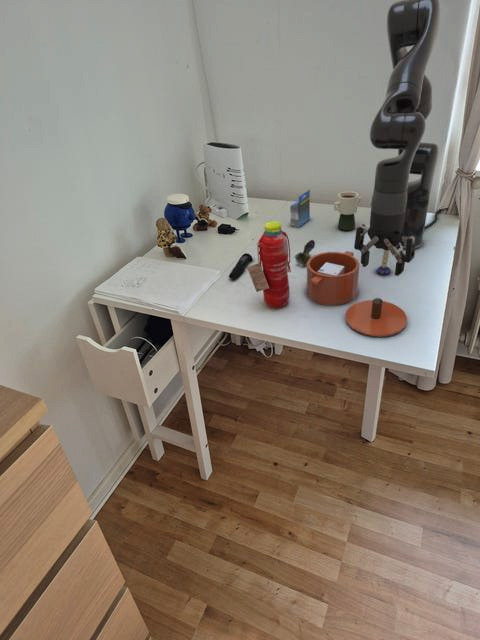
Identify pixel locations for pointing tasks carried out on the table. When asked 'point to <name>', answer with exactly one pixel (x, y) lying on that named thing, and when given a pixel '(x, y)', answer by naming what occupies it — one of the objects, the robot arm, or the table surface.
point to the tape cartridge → (300, 210)
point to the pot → (332, 279)
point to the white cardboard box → (332, 269)
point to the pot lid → (376, 317)
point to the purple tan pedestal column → (384, 265)
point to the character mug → (347, 209)
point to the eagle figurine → (306, 252)
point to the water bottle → (272, 266)
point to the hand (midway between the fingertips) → (381, 270)
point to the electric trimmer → (240, 265)
